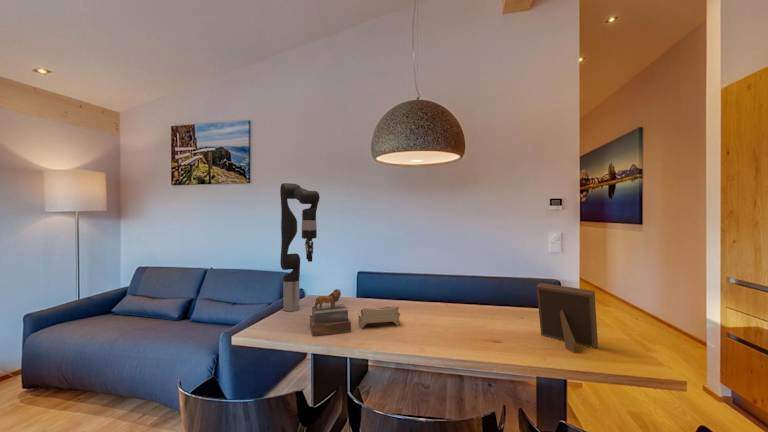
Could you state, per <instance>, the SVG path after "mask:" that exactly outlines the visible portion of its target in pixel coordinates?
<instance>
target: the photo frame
mask: <svg viewBox="0 0 768 432" xmlns="http://www.w3.org/2000/svg"><path fill="white" fill-rule="evenodd" d="M595 292H596V291H595V290H592V289H587V288H586V289H585V288H579V287H578V288H577V287H571V286H564V285H557V284H552V283H543V282H539V283H538V284H537V285H536V295H537V306H538V307H537V308H538V315H539V316H538V317H539V323H540V324H539V326H540V327H539V328H540V335H541V336H542V337H545V338H549V337H550V339H553V338H554V339H553V340H557V339H558V340H557V341H561V340H562V342H564V347H565V349H566V350H567V349H568V350H567V351H569V350H570V351H569V352H571V351H572V352H571V353H573V352H575V351H576V345H577V344H579V345H578V346H580V345H583V346H582V347H584V346H587V347H586V348H588V347H592V348H596V349H597V347H598V345H599V342H598V341H599V340H598V337H599V336H598V326H597V325H598V324H597V309H596V294H595ZM592 348H591V349H592Z"/></svg>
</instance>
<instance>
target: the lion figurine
mask: <svg viewBox="0 0 768 432" xmlns="http://www.w3.org/2000/svg"><path fill="white" fill-rule="evenodd" d="M341 294H342V293H341V290H340V289H338V288H336V289H334V290H333V291H332V292H331V293H330V294H329V295H318V296H317V297H316V298H315V302H314V306H313V307H314V308H313V309H312V308H311V311H312V310H314V309H318V308H317V307H316V306H320V309H321V310H324V309H323V308H322V306H323V303H325V304H330V305H331V307H333V308H334V309H336V307H335V305H336V303H337V302H339V300H340V299H341V297H342V295H341ZM332 305H333V306H332Z"/></svg>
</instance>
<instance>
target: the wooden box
mask: <svg viewBox="0 0 768 432" xmlns="http://www.w3.org/2000/svg"><path fill="white" fill-rule="evenodd" d="M332 306H333V305H332ZM316 307H317V308H318V309H314V310H312V309H313V308H314V306H311V315H309V328H310V331H311V335H312V337H313V336H314V337H321V336H330V335H338V334H348V333H351V332H352V322H351V320H350V318H349V311H348V309H347V307H346V305H345V304H344V303H343V304H342V303H341V304H335V307H336V309H334V308H333V307H331V304H329V305H328V304H326V305H322V308H323V309H324V310H321V309H320V305H317V306H316Z"/></svg>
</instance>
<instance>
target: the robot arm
mask: <svg viewBox="0 0 768 432" xmlns="http://www.w3.org/2000/svg"><path fill="white" fill-rule="evenodd" d="M279 192H280V193H279V194H280V206H281V207H280V209H281V213H280V214H281V215H280V220H281V221H280V232H281V233H280V234H281V236H280V237H281V249H280V268H281V269H282V270H283V271H287V270H291V271H290V272H289V273H288V274H287V273H286V274H285V275H284V276H283V281H282V283H283V285H282V286H283V287H282V289H283V290H282V291H283V293H282V295H283V299H282V300H283V304H282V305H283V311H284V312H295V311H298V310H300V277H301V276H300V273H301V272H300V271H301V258H300V255H299V253H288V252H289V248H290V245H291V243H292V242H293V240H294V239H295V237H296V235H297V233H298V219H297V218H296V216H295V214H294V213H293V212H292V210H291V208H290V206H289V200H297V201H298V202H299V203H300V204H302V205H310V207H308V208H304V209H302V212H301V216H302V217H301V238H302V239H305V242H304V247H305V253H306V256H305V257H306V258H305V259H306V260H307V262H308V263H310V262H311V263H312V262H313V253H314V241H313V239H317V236H318V235H317V226H318V225H317V210H318V206H319V202H320V193H319V192H318V191H317V190H308V189H305V188H302V186H301V185H299V184H297V183H290V182H289V183H288V182H287V183H286V182H285V183H283V182H282V183H281V185H280V190H279Z"/></svg>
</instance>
